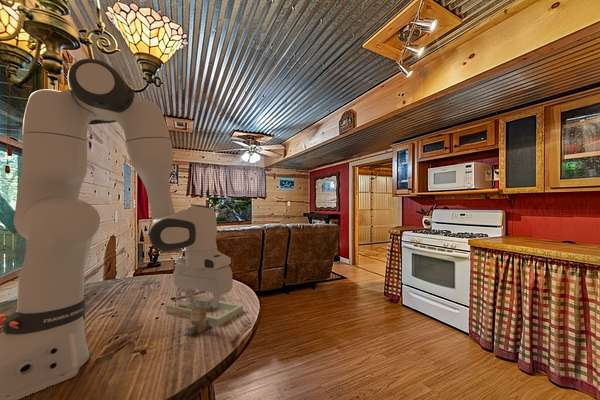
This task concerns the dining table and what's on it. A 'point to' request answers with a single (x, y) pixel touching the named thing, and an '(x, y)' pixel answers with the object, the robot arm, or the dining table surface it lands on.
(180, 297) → the claw hammer
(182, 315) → the slot rails
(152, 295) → the dining table surface
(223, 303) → the open picture frame
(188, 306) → the tan cube
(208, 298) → the beige cube
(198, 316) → the wooden block with peg
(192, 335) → the pad
